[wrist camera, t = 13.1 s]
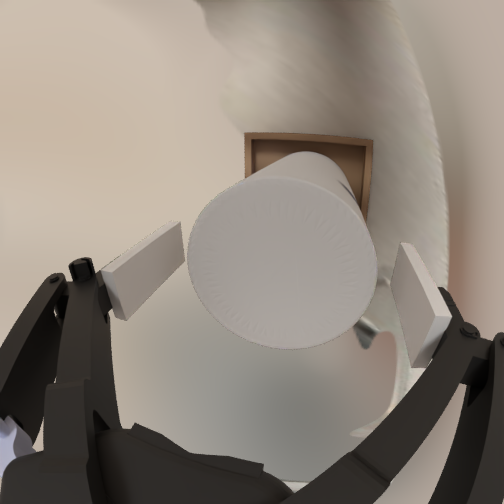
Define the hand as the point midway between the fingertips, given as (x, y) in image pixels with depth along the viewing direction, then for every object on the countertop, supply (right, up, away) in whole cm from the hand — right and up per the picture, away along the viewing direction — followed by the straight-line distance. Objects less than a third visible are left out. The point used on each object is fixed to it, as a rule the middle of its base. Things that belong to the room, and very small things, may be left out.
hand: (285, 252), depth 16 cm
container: (+5, +7, +16) cm, 18 cm away
